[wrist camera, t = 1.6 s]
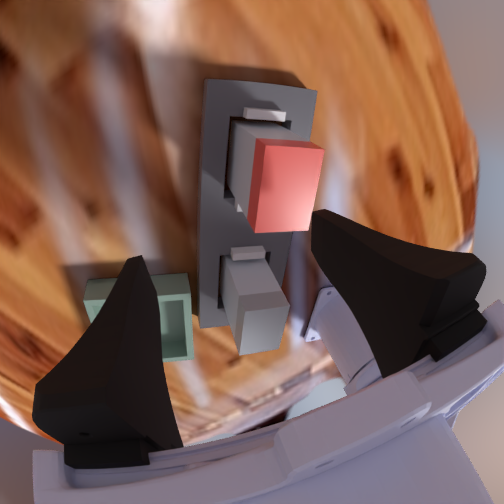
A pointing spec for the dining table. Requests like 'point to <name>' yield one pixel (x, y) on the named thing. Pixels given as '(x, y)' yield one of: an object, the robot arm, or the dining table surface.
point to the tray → (171, 311)
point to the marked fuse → (273, 175)
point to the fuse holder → (223, 201)
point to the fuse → (253, 304)
